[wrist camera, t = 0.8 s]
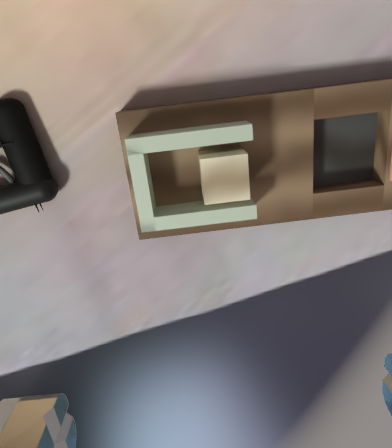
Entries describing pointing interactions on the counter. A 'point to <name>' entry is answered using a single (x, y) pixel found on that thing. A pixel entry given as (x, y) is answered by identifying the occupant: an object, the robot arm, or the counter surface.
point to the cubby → (191, 211)
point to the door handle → (22, 161)
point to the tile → (391, 170)
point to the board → (281, 152)
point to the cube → (224, 175)
